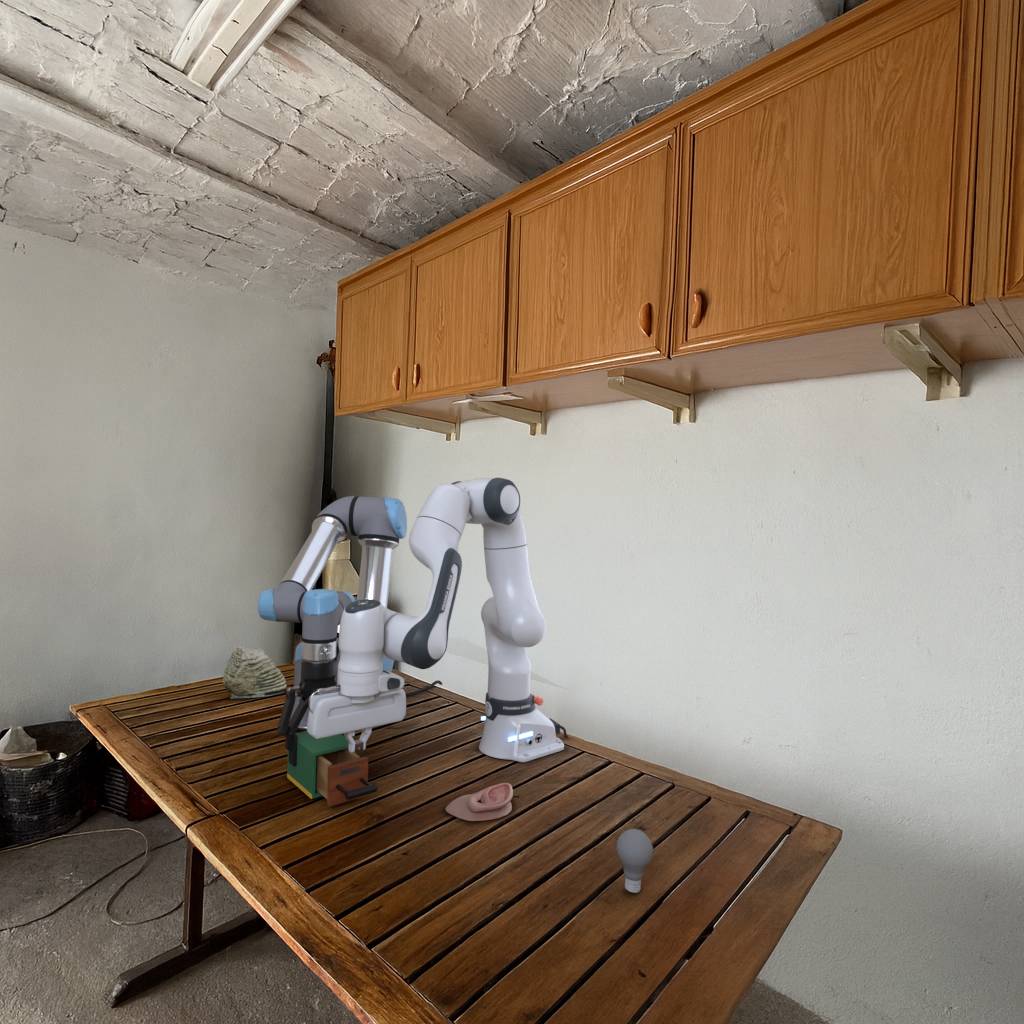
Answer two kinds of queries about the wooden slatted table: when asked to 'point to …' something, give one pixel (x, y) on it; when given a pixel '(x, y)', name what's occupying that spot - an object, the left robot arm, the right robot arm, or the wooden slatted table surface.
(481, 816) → the anatomical model
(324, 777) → the drawer
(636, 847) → the light bulb
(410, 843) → the wooden slatted table surface
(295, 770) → the cabinet
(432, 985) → the wooden slatted table surface
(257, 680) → the fossil
